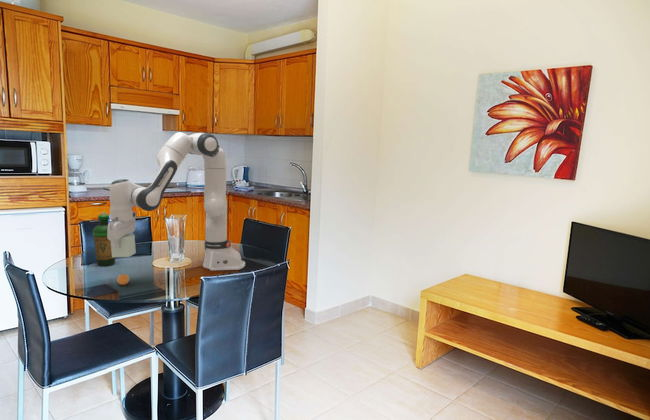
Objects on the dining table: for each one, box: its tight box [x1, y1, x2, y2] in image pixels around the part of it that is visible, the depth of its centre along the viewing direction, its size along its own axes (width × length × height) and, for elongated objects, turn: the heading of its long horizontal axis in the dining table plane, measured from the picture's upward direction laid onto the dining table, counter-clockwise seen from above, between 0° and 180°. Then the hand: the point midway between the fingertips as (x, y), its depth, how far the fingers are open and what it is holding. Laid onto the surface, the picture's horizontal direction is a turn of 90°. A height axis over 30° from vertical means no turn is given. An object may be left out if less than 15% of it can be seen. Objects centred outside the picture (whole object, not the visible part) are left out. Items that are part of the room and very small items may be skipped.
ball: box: [116, 273, 130, 286], centre depth 189 cm, size 5×5×5 cm
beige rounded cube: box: [111, 233, 137, 258], centre depth 187 cm, size 7×7×9 cm
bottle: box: [92, 211, 116, 267], centre depth 217 cm, size 11×11×28 cm
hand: (122, 245), depth 187 cm, fingers closed on beige rounded cube, 7 cm apart
